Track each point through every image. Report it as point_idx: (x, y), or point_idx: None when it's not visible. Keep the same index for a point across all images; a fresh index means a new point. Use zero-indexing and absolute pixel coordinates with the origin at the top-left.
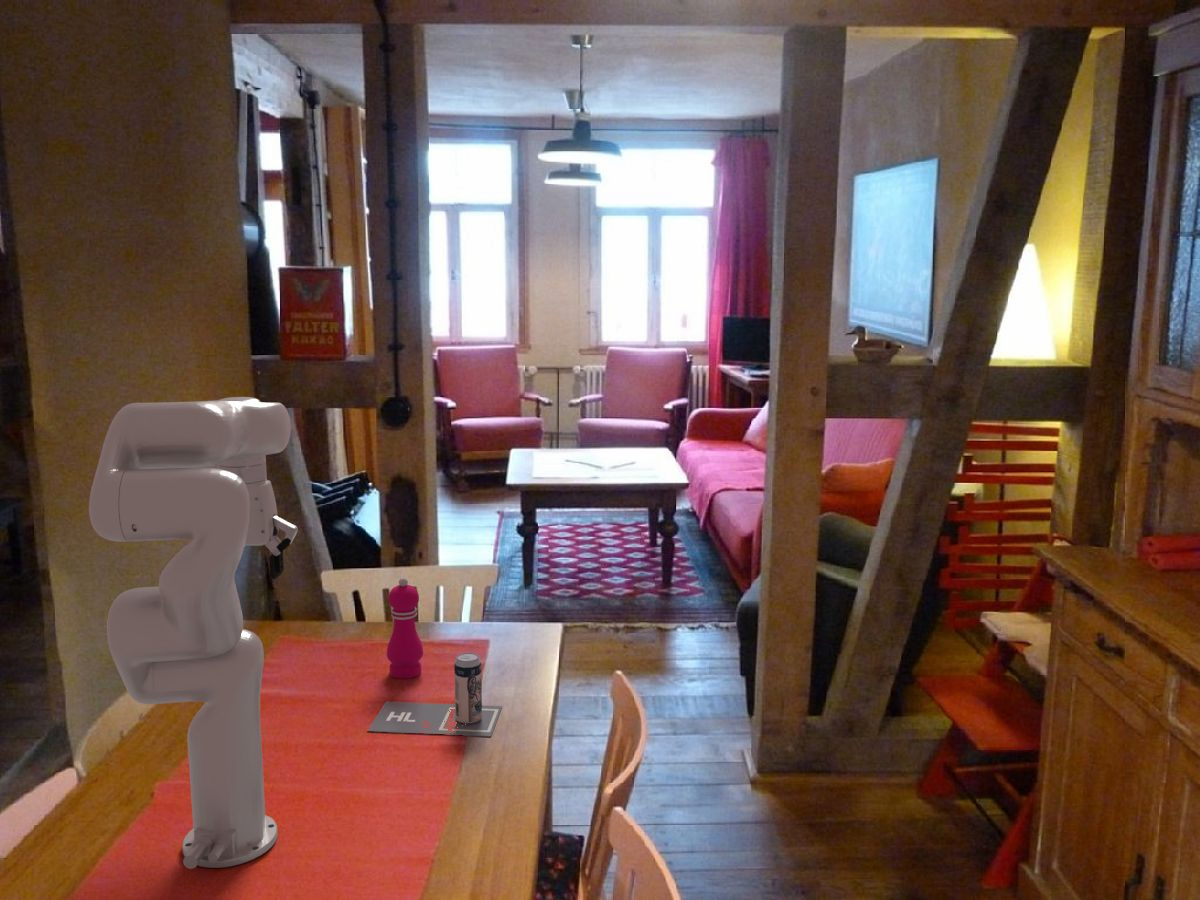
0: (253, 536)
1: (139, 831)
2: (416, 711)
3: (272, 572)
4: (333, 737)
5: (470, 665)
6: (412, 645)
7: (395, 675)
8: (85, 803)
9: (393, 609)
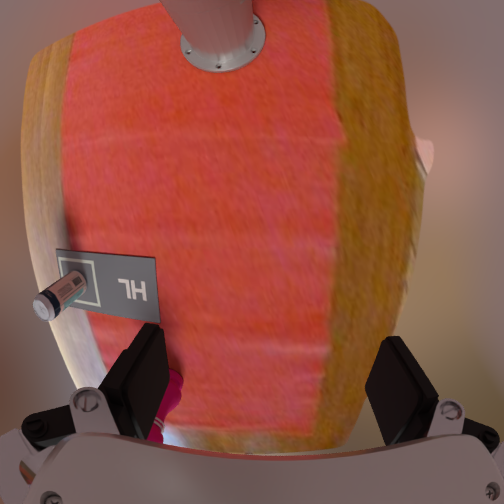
0: (140, 501)
1: (319, 54)
2: (124, 300)
3: (141, 336)
4: (186, 245)
5: (37, 296)
6: None
7: (172, 371)
8: (392, 107)
9: (157, 427)
